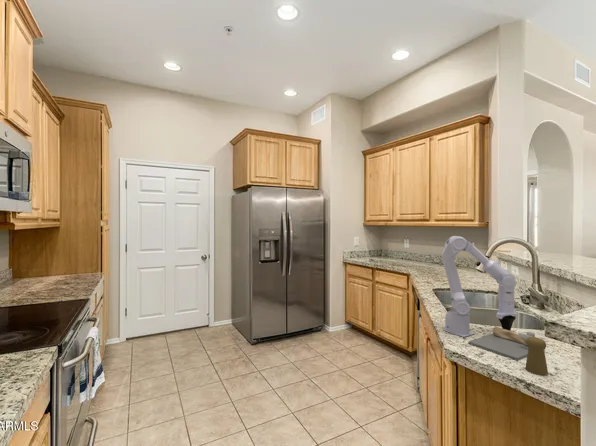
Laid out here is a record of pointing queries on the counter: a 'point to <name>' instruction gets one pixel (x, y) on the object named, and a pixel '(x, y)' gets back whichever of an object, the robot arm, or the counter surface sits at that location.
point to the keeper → (524, 335)
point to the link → (509, 335)
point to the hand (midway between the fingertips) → (506, 332)
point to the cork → (536, 356)
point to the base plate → (502, 346)
